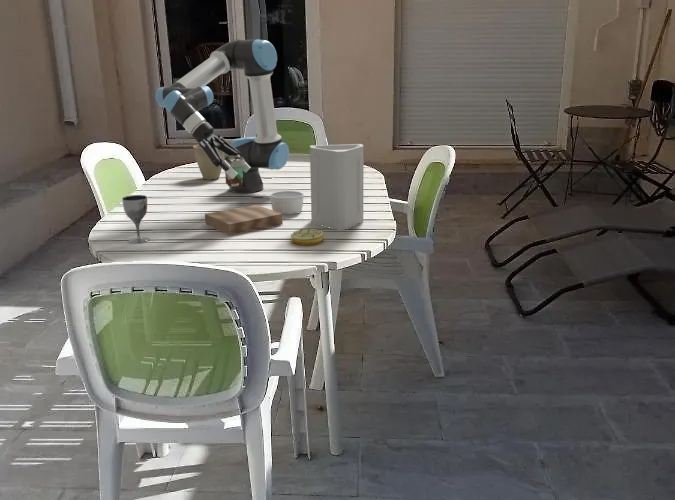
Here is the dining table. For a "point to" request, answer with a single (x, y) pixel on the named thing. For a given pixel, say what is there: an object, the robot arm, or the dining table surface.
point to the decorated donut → (307, 236)
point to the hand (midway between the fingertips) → (241, 173)
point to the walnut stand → (243, 219)
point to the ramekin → (287, 201)
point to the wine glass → (136, 213)
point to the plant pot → (207, 163)
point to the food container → (237, 165)
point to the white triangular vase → (337, 185)
